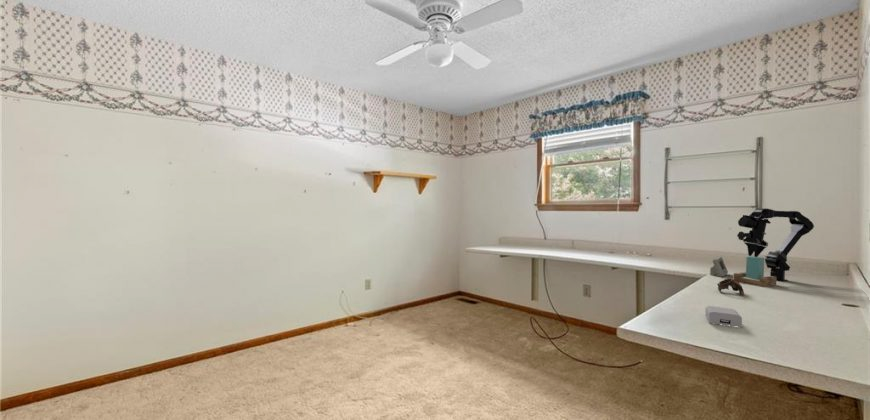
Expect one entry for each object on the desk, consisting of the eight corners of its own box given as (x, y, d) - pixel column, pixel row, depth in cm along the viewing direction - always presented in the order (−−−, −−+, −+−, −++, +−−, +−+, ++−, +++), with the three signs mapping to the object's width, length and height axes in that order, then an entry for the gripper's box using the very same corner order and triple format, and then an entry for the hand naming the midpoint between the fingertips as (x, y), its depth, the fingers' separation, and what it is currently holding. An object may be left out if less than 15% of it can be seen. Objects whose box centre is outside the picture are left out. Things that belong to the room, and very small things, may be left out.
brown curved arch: (743, 298, 170) (732, 282, 172) (721, 302, 178) (711, 287, 179) (750, 288, 177) (740, 273, 179) (729, 293, 185) (719, 278, 186)
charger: (732, 317, 141) (741, 329, 128) (702, 313, 145) (708, 324, 132) (732, 305, 141) (742, 315, 128) (703, 301, 145) (709, 311, 132)
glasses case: (751, 276, 205) (752, 256, 204) (763, 278, 200) (764, 257, 199) (745, 277, 202) (746, 256, 202) (757, 279, 197) (758, 258, 197)
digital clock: (722, 277, 215) (722, 259, 215) (704, 274, 223) (705, 257, 222) (733, 275, 223) (734, 257, 223) (716, 272, 231) (717, 255, 231)
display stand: (745, 279, 210) (746, 271, 210) (776, 284, 197) (776, 276, 197) (733, 281, 205) (733, 273, 205) (764, 286, 192) (764, 278, 192)
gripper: (747, 229, 221) (741, 254, 221) (734, 225, 211) (729, 252, 212) (770, 232, 212) (765, 258, 212) (759, 228, 202) (753, 256, 202)
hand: (752, 256), depth 210 cm, fingers open, 9 cm apart
